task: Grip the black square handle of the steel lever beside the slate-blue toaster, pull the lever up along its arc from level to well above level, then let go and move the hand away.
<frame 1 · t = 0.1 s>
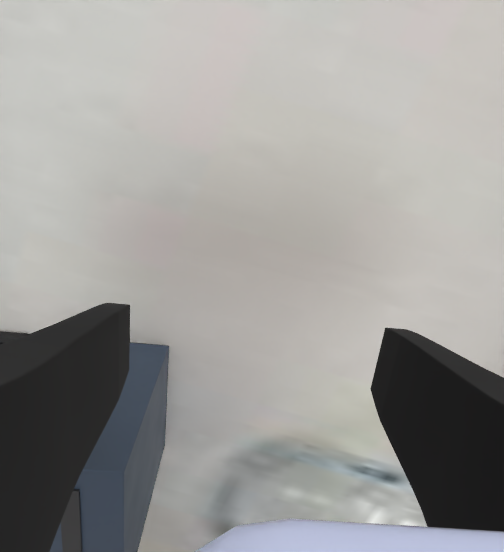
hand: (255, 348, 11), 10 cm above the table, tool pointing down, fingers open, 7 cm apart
toaster body: (115, 393, 23), on the table
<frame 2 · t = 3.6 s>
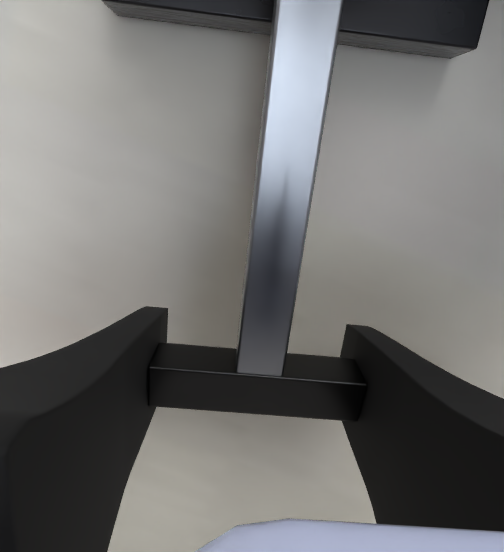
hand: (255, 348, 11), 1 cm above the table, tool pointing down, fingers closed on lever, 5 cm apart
lever: (295, 92, 7), point 3 cm above the table, hinge at -2.0°, touching gripper
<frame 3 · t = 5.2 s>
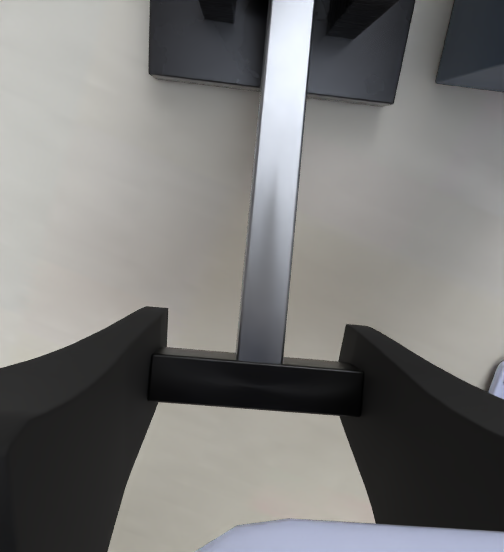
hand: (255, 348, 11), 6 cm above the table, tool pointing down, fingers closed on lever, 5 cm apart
lever: (279, 123, 10), point 5 cm above the table, hinge at 21.0°, touching gripper
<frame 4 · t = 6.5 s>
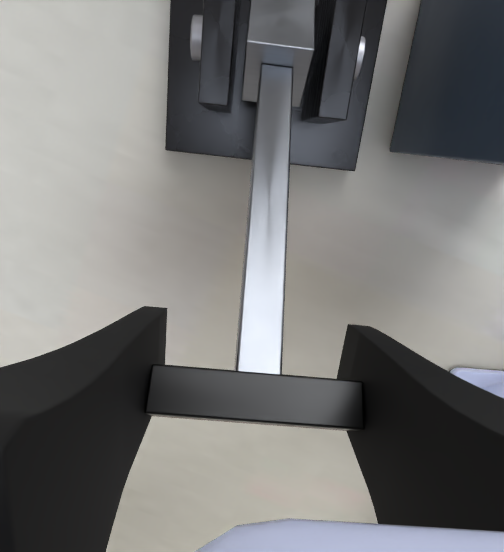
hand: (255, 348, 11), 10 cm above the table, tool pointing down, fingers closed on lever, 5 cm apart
toaster body: (471, 77, 18), on the table
lever: (269, 178, 12), point 7 cm above the table, hinge at 41.5°, touching gripper
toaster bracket: (270, 65, 17), on the table
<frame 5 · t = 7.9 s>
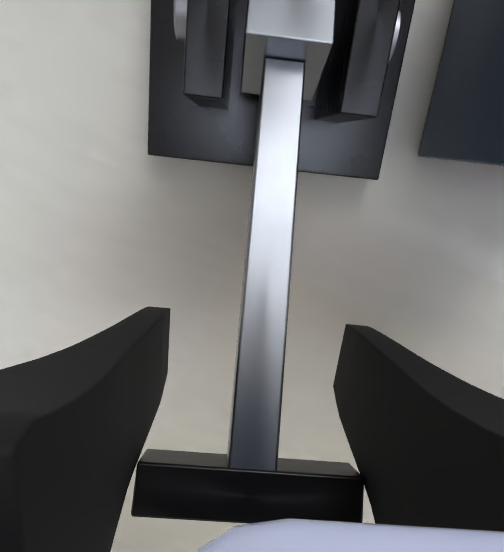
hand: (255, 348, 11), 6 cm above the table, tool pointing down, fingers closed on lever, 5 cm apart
lever: (270, 218, 10), point 6 cm above the table, hinge at 28.3°, touching gripper
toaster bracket: (276, 51, 14), on the table
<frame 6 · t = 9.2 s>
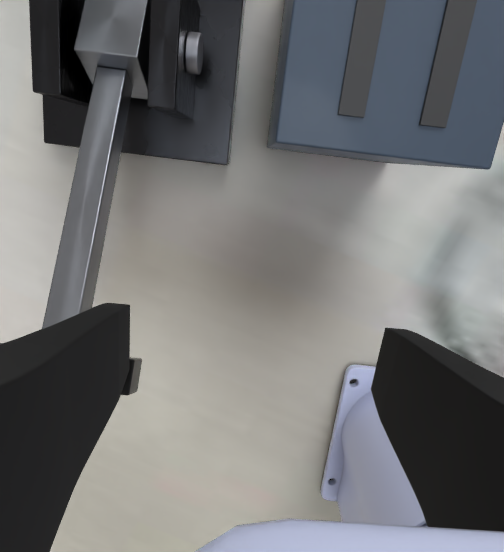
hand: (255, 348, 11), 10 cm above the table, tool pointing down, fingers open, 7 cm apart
toaster body: (340, 77, 18), on the table
lever: (94, 181, 14), point 6 cm above the table, hinge at 27.9°
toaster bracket: (146, 64, 18), on the table
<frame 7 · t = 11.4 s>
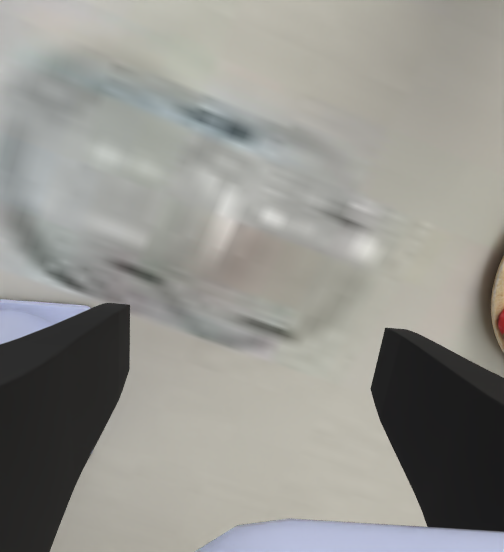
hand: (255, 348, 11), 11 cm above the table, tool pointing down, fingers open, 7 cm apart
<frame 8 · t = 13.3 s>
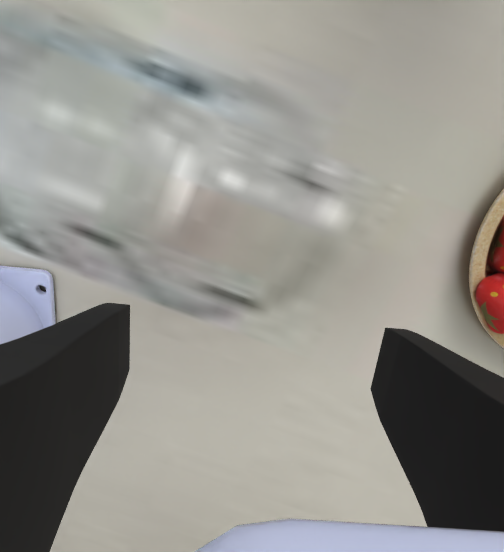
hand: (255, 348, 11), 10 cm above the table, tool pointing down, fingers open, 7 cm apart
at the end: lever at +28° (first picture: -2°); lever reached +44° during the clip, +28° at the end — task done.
